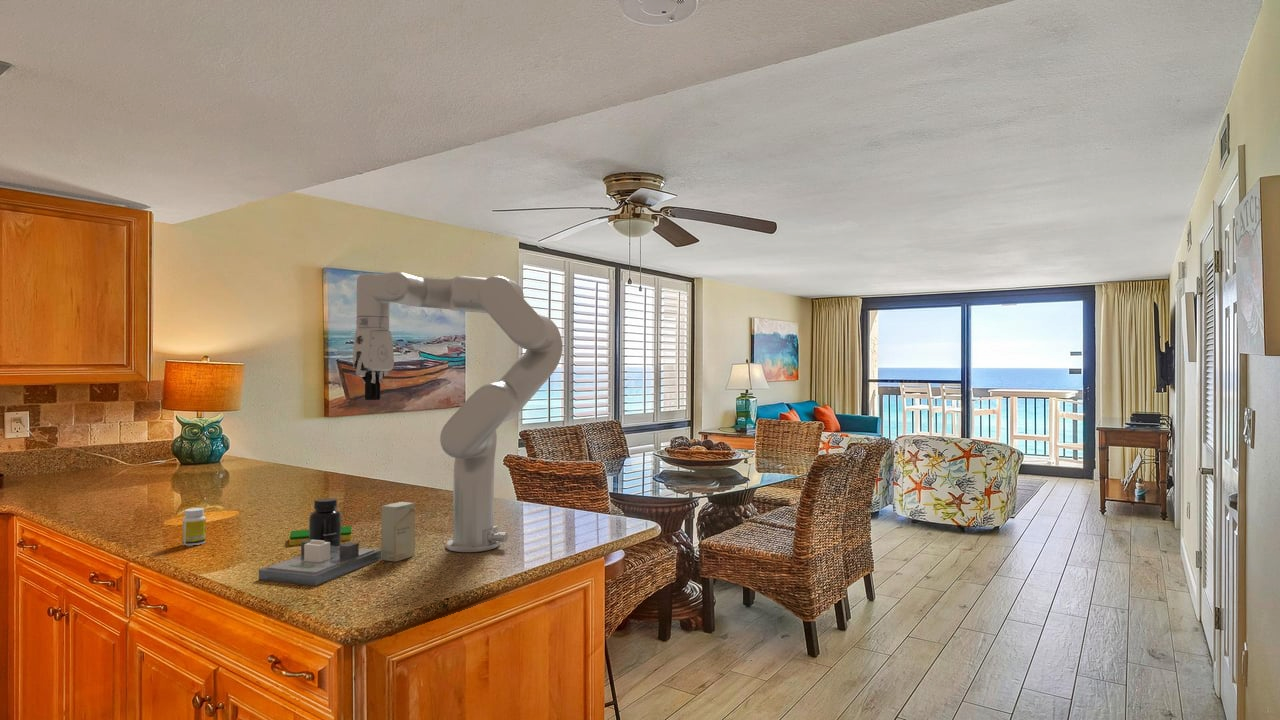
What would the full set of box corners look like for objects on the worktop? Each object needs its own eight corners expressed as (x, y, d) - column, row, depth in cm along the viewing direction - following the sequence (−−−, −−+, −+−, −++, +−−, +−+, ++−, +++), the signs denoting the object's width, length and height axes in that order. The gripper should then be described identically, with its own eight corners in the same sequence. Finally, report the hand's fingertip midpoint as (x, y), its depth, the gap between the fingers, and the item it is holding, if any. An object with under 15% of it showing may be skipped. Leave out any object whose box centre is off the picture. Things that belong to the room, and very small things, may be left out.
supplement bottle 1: (210, 542, 170) (210, 508, 170) (190, 547, 166) (190, 512, 166) (197, 540, 172) (197, 506, 172) (178, 545, 168) (178, 510, 168)
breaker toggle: (330, 558, 147) (330, 539, 147) (319, 562, 145) (319, 542, 145) (314, 557, 149) (314, 538, 149) (304, 561, 146) (304, 541, 146)
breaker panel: (381, 559, 156) (381, 536, 156) (315, 586, 137) (315, 560, 137) (329, 554, 160) (329, 531, 160) (258, 579, 141) (258, 554, 141)
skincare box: (395, 562, 153) (395, 507, 153) (380, 560, 155) (380, 505, 155) (415, 555, 159) (415, 502, 159) (400, 553, 161) (401, 500, 161)
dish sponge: (351, 541, 173) (351, 532, 173) (289, 547, 168) (289, 537, 168) (350, 535, 180) (350, 525, 180) (291, 540, 174) (291, 530, 174)
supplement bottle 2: (328, 555, 158) (328, 503, 159) (302, 554, 160) (302, 501, 160) (347, 548, 165) (347, 497, 165) (321, 546, 167) (321, 496, 167)
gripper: (365, 322, 162) (365, 401, 162) (404, 326, 176) (404, 398, 176) (338, 323, 164) (338, 401, 164) (379, 326, 178) (379, 398, 178)
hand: (372, 399), depth 170 cm, fingers closed
